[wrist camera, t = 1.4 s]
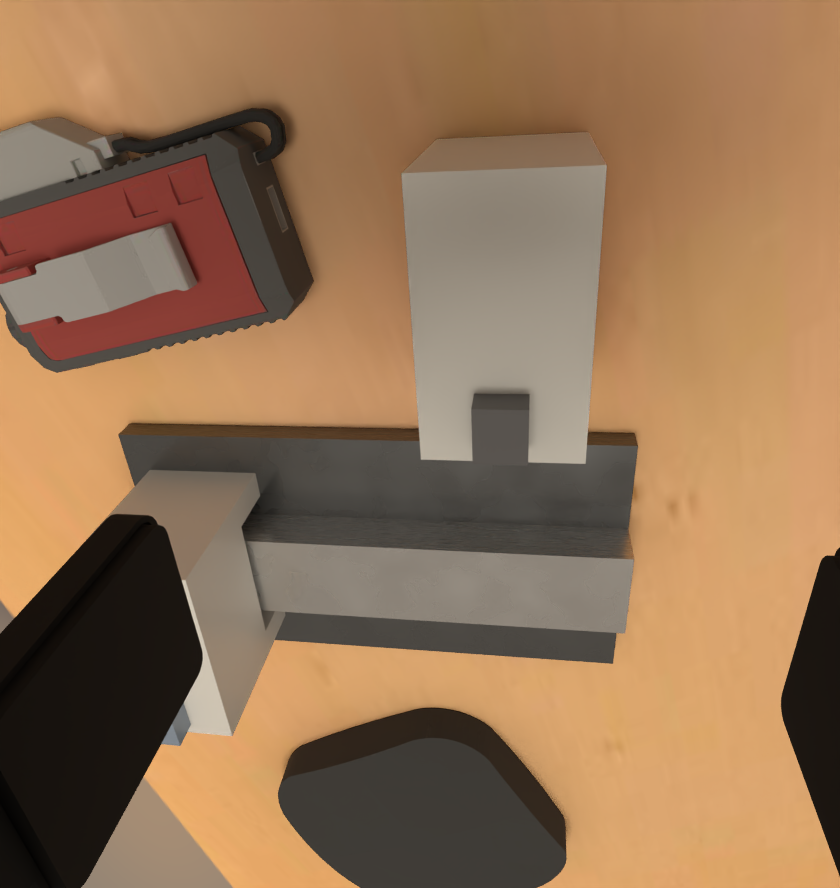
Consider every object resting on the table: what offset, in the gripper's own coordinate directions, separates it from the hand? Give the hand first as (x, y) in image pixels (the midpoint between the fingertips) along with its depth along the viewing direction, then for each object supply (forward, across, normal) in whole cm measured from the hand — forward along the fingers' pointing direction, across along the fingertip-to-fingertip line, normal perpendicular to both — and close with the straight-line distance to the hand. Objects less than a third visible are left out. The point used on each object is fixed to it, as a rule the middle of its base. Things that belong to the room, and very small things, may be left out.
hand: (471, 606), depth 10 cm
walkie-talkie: (+18, +17, -1) cm, 25 cm away
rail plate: (+18, +6, +13) cm, 22 cm away
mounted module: (+17, +14, +13) cm, 25 cm away
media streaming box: (+18, +5, +33) cm, 38 cm away
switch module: (+18, 0, 0) cm, 18 cm away
